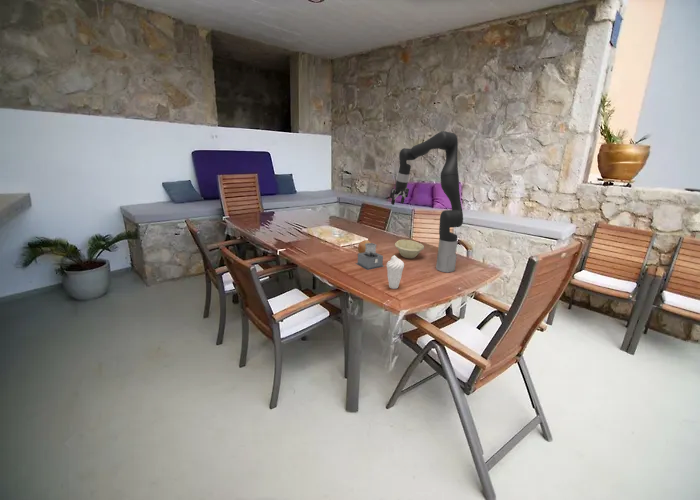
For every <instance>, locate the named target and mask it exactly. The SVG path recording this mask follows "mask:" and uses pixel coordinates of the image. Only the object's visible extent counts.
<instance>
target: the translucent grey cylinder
mask: <svg viewBox="0 0 700 500" xmlns="http://www.w3.org/2000/svg"><path fill="white" fill-rule="evenodd" d="M365 245H366V251H365V255H367V256H369V257H371V256H373V255H374V254H376V253H377V252H376V251H377V244H376V243H373V242H371V243H367V244H365Z"/></svg>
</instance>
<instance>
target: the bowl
mask: <svg viewBox="0 0 700 500" xmlns="http://www.w3.org/2000/svg"><path fill="white" fill-rule="evenodd" d="M394 246H395V248H396V249H397V251H398V252H399V255H400V256H402V258H406V259H415V258H416V257H417V256H418V255H419V254H420V252H421V251H423V250H424V249H425V246H424V244H422V243H420V242H418V241H415V240H411V239H399V240H397V241H396V242H395V243H394Z"/></svg>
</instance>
